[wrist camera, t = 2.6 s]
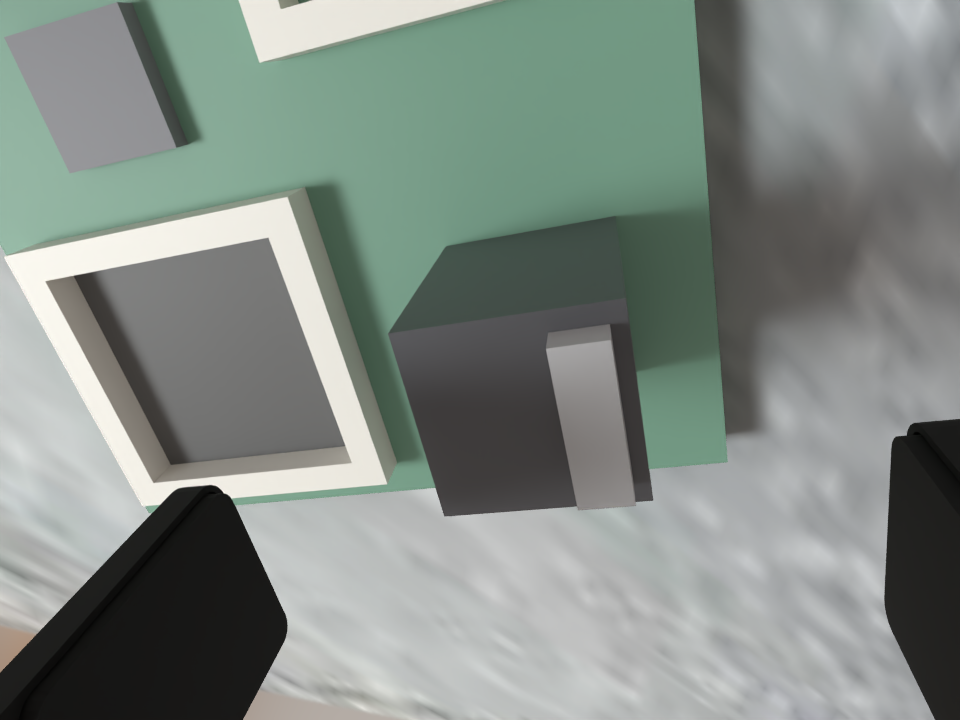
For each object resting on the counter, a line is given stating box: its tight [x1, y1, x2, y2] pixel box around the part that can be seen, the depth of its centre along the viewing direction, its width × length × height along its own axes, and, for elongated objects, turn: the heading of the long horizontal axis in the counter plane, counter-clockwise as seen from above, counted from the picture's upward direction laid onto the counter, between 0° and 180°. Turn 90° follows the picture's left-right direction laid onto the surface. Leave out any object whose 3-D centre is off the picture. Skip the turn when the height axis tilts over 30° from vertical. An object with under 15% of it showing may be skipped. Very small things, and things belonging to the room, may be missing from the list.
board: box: [0, 0, 728, 513], centre depth 15 cm, size 18×18×2 cm
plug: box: [388, 216, 653, 516], centre depth 13 cm, size 4×4×6 cm
